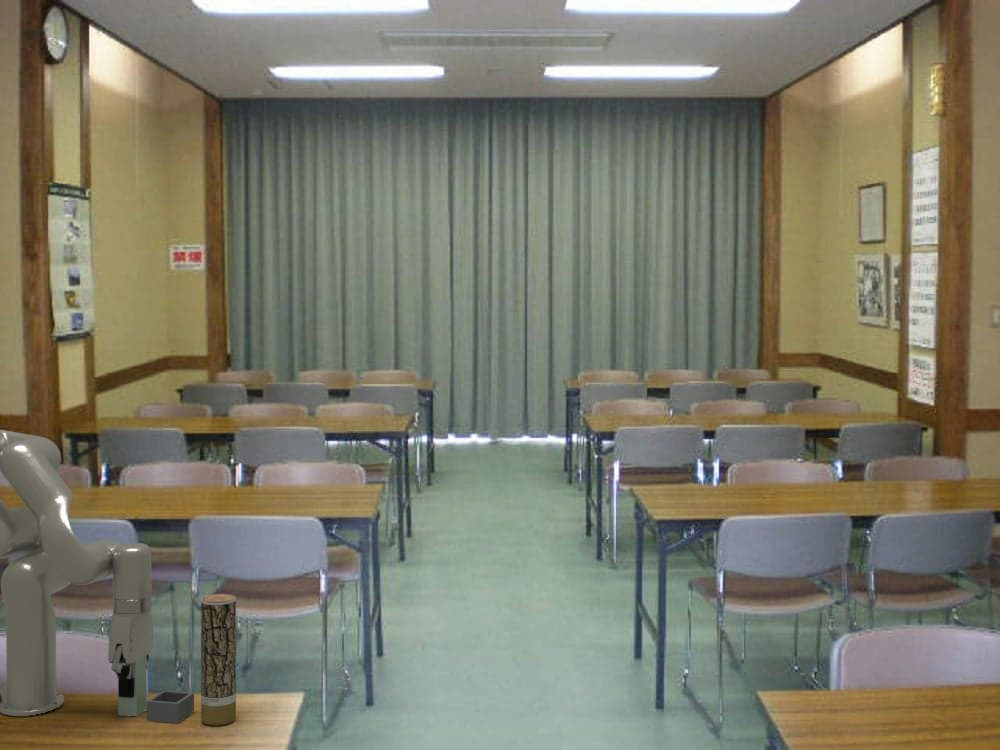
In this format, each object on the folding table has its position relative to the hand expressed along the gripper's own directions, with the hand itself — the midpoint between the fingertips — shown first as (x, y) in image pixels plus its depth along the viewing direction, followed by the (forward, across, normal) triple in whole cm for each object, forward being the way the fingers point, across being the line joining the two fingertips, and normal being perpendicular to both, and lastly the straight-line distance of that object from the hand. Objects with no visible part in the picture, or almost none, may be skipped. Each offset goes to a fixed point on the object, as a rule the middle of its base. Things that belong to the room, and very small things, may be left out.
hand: (132, 692), depth 227 cm
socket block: (+4, 0, +8) cm, 10 cm away
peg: (+4, 0, 0) cm, 4 cm away
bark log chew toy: (+4, 0, +19) cm, 20 cm away
